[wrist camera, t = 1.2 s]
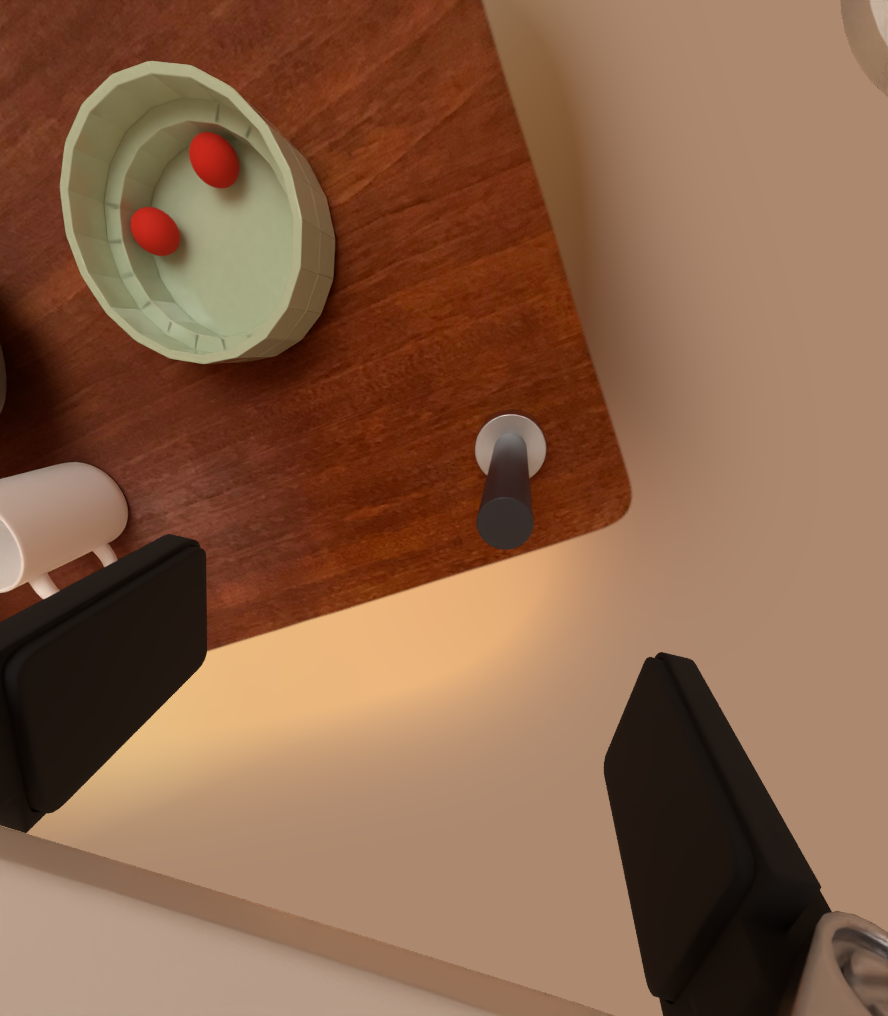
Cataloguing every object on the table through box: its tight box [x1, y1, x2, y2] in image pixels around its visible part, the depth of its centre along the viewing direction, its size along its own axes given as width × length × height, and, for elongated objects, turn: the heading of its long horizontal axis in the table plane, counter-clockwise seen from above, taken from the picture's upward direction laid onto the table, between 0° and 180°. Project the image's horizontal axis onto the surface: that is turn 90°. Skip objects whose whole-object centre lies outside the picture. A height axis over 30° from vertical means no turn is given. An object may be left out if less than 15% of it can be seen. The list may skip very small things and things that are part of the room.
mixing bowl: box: [60, 61, 335, 364], centre depth 31 cm, size 16×16×6 cm
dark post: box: [475, 410, 546, 549], centre depth 27 cm, size 5×5×18 cm
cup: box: [0, 462, 128, 599], centre depth 39 cm, size 8×12×10 cm
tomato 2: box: [189, 132, 239, 189], centre depth 30 cm, size 3×3×3 cm
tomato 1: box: [131, 207, 180, 256], centre depth 32 cm, size 3×3×3 cm
